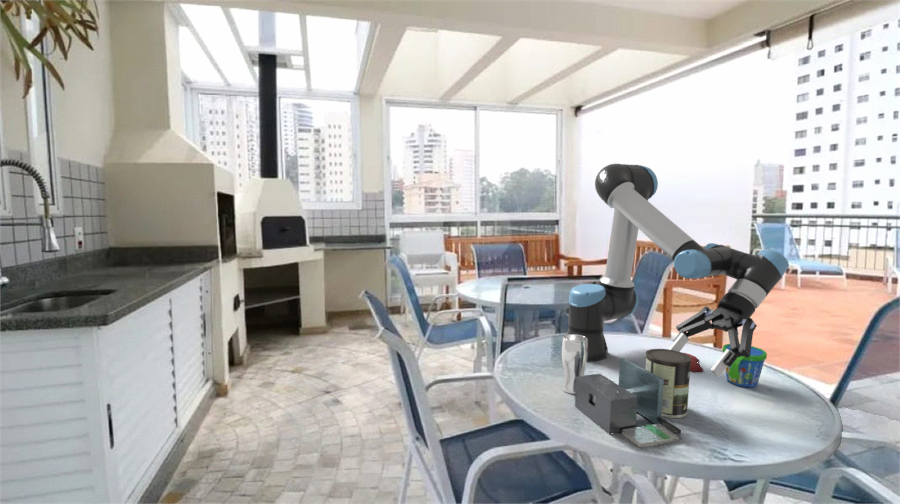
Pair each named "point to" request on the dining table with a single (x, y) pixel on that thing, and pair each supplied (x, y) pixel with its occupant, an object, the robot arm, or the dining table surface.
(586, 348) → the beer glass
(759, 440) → the dining table surface
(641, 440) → the gauge housing
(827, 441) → the dining table surface
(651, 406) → the blue-grey panel with base
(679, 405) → the coffee can
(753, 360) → the snack cup
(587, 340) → the robot arm
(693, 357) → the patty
